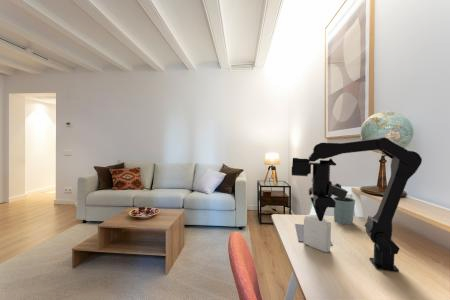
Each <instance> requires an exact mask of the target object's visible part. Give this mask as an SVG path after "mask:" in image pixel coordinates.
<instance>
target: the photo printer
mask: <svg viewBox="0 0 450 300" xmlns="http://www.w3.org/2000/svg"><path fill="white" fill-rule="evenodd" d="M303 225H304V243H303V244H305V245H308V246H309V247H312V248H314V249H317V250H319V251H321V252H324V253H328V252H330V251H331V246H330V244H331V242H332V240H331V239H332V222H331V221H330V220H328V219H327V218H325V217H323V220H322V221H319V219H318V217H317V215H315V214H306V215H305V216H304V218H303Z"/></svg>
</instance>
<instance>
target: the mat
mask: <svg viewBox="0 0 450 300" xmlns="http://www.w3.org/2000/svg"><path fill="white" fill-rule="evenodd" d="M294 225H295V229H296V230H295V231H296V234H297V235H296V236H297V241H298V243H303V244H305V243H304V224H301V223H300V224H299V223H295V224H294ZM333 245H334V244H333V243H332V241H331V244H330V247H331V246H332V247H333Z"/></svg>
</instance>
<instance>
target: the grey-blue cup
mask: <svg viewBox="0 0 450 300" xmlns="http://www.w3.org/2000/svg"><path fill="white" fill-rule="evenodd" d="M332 198H333V199H334V201H335V202H336V205H335V208H333V220H334V222H335V223H337V224H341V225H348V226H349V225H352V224H353V223H354V212H355V204H356V199H354V198H351V197H347V196H346V197H345V199H344V200H343V199H341V198H339V197H337V196H334V197H332Z"/></svg>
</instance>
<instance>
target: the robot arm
mask: <svg viewBox="0 0 450 300" xmlns="http://www.w3.org/2000/svg"><path fill="white" fill-rule="evenodd" d="M378 150H379V151H381V152H382V153H383V154H384V155H386V157H388V158H389V159H390V161H391V162H390V177H389V179H388V183H387V185H386V188H385V190H384V193H383V196H382V199H381V201H380V204H379V206H378V209H377V212H376V213H375V215H373V216H370V215H368V216H367V220H366V222H365V224H364V227H365V233H366V234H367V236H368V237H369V239H370V240H371V242H372V243H374V244H373V257H369V261H370V262H371V263H372V265H373V266H374V267H375V269H377V270H385V271H389V272H390V271H391V272H400V269H399V268H398V267H397V266H396V265H395V255H398V253H399V252H400V250H401V249H400V247H399V246H398V245H397V243H396V242H395V241H393V239H392V236H393V219H394V216H395V213H396V211H397V209H398V206H399V203H400V200H401V198H402V195H403V194H404V190H405V188H406V185H407V183H408V180H409V179H410V178H411V177H412V176H414V174H416V172H417V171H418V169H419V168H420V166H421V164H422V159H423V158H422V157H421V155H420V154H419V153H417V152H416V151H414V150H407V149H406V148H404V147H403V146H400V145H399V144H397V143H395V142H393V141H392V140H390V139H389V138H387V137H377V138H371V139H364V140H363V139H362V140H357V141H349V142H341V143H339V142H317V143H316V144H315V145H314V147H313V148H312V151H313V152H311V153H310V155H309V156H308V158H306V157H305V158H304V157H300V158H299V157H292V163H291V164H292V165H291V176H292V177H293V176H294V177H295V176H297V177H308V176H309V175H310V174H311V173H312V178H311V182H312V184H311V187H310V188H308V195H309V196H311V197H310V201H311V204H312V206H313V209H314V212H315V213H316V215H317V217H318V219H319V221H322V220H323V218H325V214H326V211H327V209H328V208H333V209H334V208H335V205H336V202H335V201H334V199H333V198H334V197H339V198H341V199H343V200H344V199H345V197H347V194H348V193H349V191H347V190H346V189H344V188H342V185H341V184H340V183H338V182H335V183H334V184H333V182H332V181H331V180H330V179H331V177H330V176H331V166H337V163H336V162H335V161H333V158H332V157H336V156H339V155H344V154H350V153H359V152H368V151H378ZM316 161H318V162H316ZM311 171H312V172H311ZM332 196H334V197H332Z"/></svg>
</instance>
